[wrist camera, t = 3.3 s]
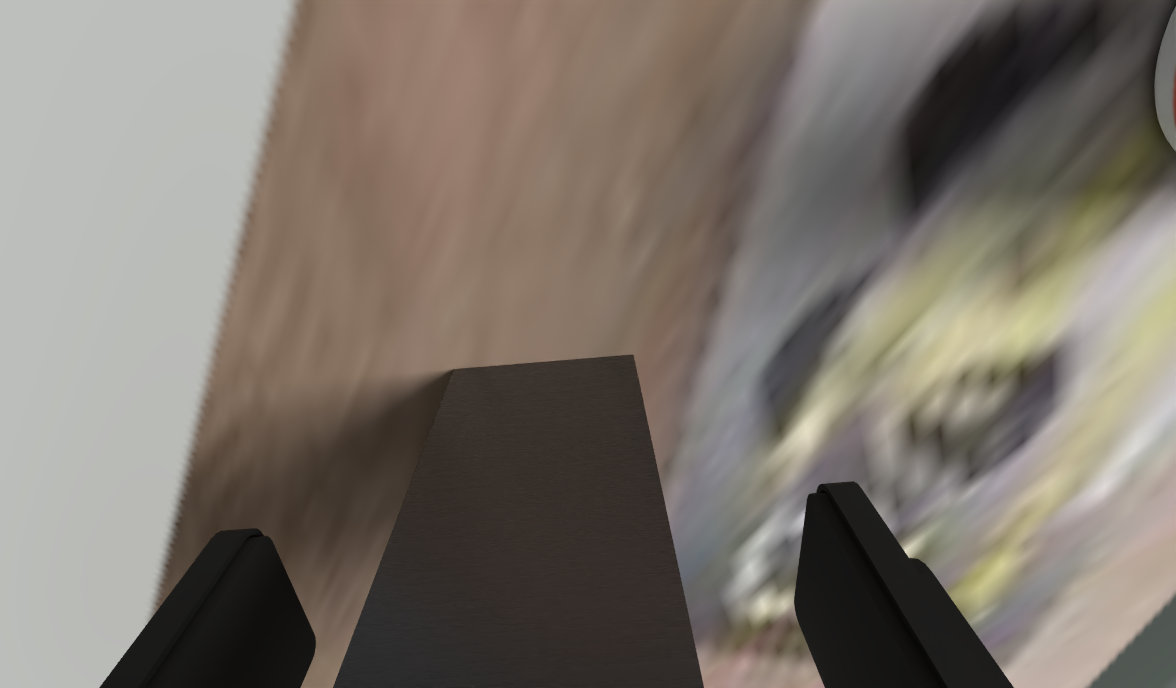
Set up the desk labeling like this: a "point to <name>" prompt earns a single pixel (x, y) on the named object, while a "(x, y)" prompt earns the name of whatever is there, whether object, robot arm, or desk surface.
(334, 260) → the desk surface
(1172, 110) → the pill bottle
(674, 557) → the square head mallet
